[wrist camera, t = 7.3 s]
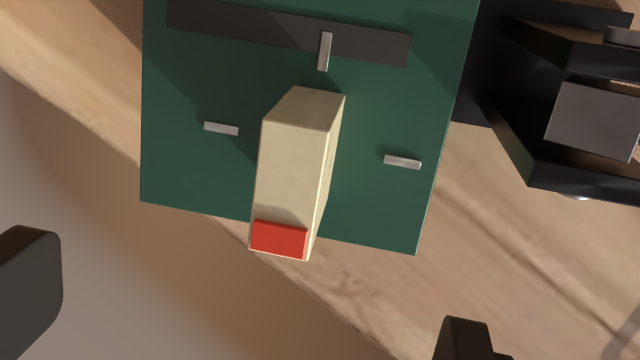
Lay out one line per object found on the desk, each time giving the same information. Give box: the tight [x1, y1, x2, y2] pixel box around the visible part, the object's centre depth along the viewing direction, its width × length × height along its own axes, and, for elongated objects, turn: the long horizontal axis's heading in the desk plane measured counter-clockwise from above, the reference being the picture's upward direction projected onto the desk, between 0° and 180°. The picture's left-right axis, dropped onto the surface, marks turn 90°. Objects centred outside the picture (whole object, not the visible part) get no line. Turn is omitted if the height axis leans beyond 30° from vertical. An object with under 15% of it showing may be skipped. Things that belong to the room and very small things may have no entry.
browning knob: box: [247, 85, 345, 261], centre depth 18 cm, size 4×2×5 cm, turn 171°
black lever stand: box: [450, 0, 640, 208], centre depth 23 cm, size 8×7×13 cm
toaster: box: [140, 0, 481, 256], centre depth 25 cm, size 12×12×11 cm
